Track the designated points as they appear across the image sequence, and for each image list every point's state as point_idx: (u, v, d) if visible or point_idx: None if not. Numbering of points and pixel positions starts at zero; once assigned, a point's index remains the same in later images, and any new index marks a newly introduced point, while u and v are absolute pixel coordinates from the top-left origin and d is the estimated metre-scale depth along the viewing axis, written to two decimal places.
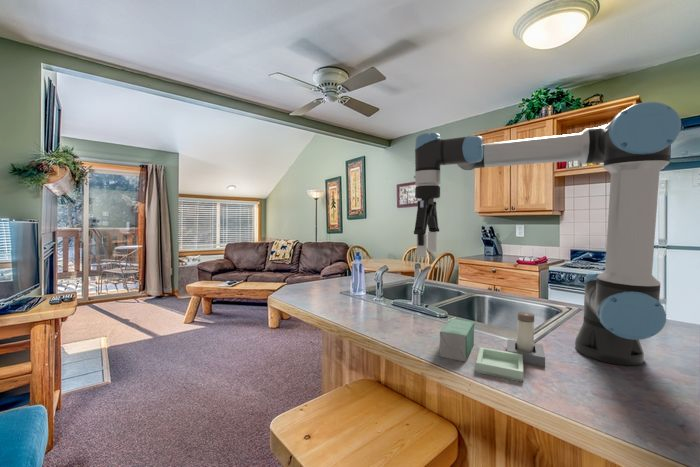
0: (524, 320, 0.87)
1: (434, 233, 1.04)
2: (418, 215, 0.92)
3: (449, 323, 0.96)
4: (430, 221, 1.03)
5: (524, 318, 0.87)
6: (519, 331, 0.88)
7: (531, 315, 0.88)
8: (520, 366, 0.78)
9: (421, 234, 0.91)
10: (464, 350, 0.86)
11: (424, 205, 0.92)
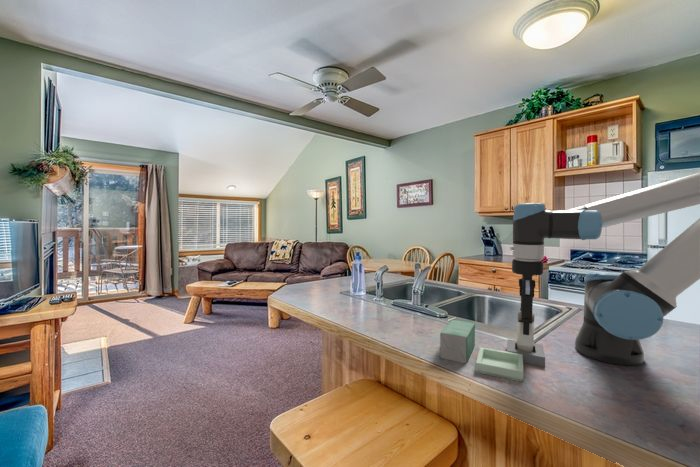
0: None
1: None
2: (524, 304, 0.83)
3: (450, 324, 0.95)
4: None
5: None
6: (519, 331, 0.88)
7: None
8: (520, 366, 0.78)
9: (528, 323, 0.85)
10: (464, 352, 0.85)
11: (531, 293, 0.82)
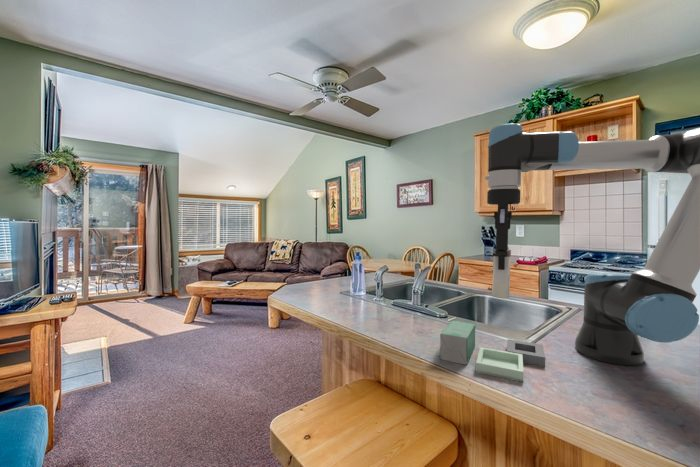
0: None
1: None
2: (498, 234, 0.76)
3: (450, 325, 0.94)
4: None
5: None
6: (494, 268, 0.81)
7: (507, 250, 0.80)
8: (520, 366, 0.78)
9: (503, 256, 0.77)
10: (465, 353, 0.85)
11: (505, 221, 0.74)
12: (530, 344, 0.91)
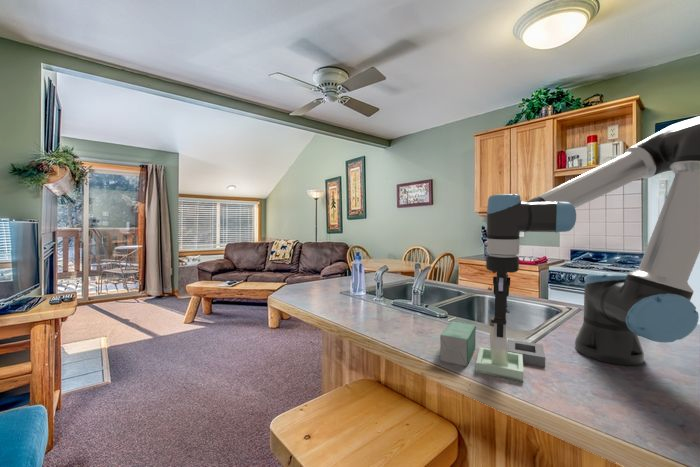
0: None
1: None
2: (497, 302, 0.76)
3: (450, 326, 0.93)
4: None
5: None
6: (491, 337, 0.82)
7: None
8: (520, 366, 0.78)
9: (501, 324, 0.76)
10: (465, 354, 0.84)
11: (504, 289, 0.75)
12: (530, 344, 0.91)
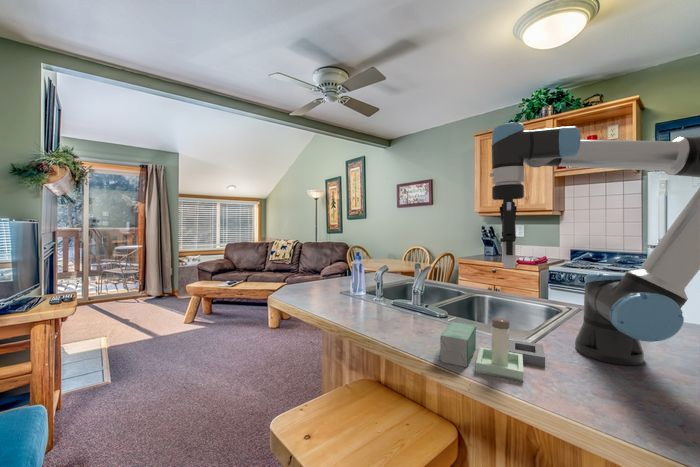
0: (498, 327, 0.80)
1: None
2: (506, 219, 0.78)
3: (450, 327, 0.93)
4: None
5: (499, 324, 0.80)
6: (493, 338, 0.82)
7: (506, 321, 0.81)
8: (520, 366, 0.78)
9: (511, 242, 0.77)
10: (465, 355, 0.83)
11: (512, 207, 0.78)
12: (530, 344, 0.91)
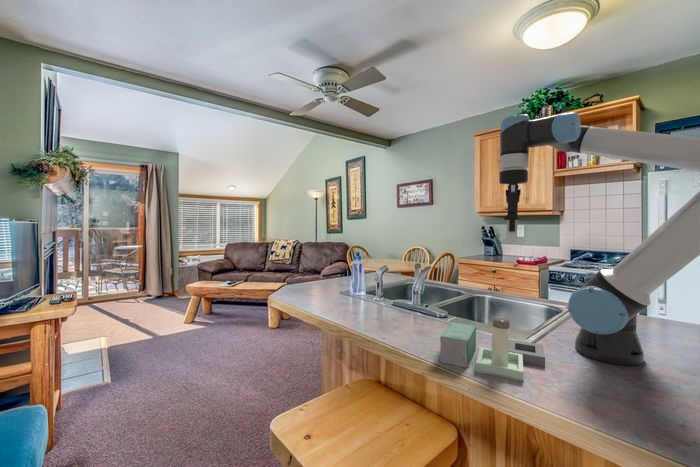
0: (498, 326, 0.80)
1: None
2: (510, 200, 0.88)
3: (450, 327, 0.92)
4: None
5: (499, 324, 0.80)
6: (493, 338, 0.82)
7: (506, 321, 0.81)
8: (520, 366, 0.78)
9: (513, 219, 0.87)
10: (465, 356, 0.83)
11: (516, 189, 0.88)
12: (530, 344, 0.91)
